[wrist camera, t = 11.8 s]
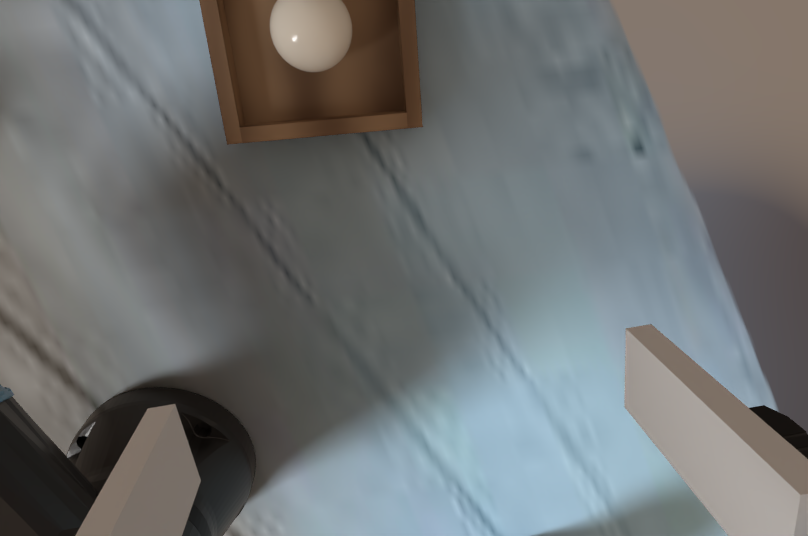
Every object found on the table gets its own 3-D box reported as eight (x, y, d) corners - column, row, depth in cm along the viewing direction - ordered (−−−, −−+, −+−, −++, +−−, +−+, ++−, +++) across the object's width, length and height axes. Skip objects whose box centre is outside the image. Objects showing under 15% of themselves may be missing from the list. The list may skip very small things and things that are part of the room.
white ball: (282, 74, 37) (271, 77, 32) (270, -9, 35) (256, -19, 30) (356, 67, 37) (356, 69, 32) (348, -15, 35) (346, -26, 31)
